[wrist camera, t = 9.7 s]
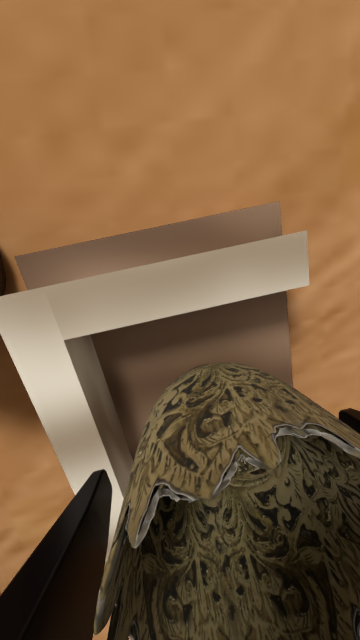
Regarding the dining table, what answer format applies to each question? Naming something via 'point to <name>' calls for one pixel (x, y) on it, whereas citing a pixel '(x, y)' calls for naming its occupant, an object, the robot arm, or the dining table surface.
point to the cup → (237, 517)
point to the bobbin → (2, 278)
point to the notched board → (146, 327)
